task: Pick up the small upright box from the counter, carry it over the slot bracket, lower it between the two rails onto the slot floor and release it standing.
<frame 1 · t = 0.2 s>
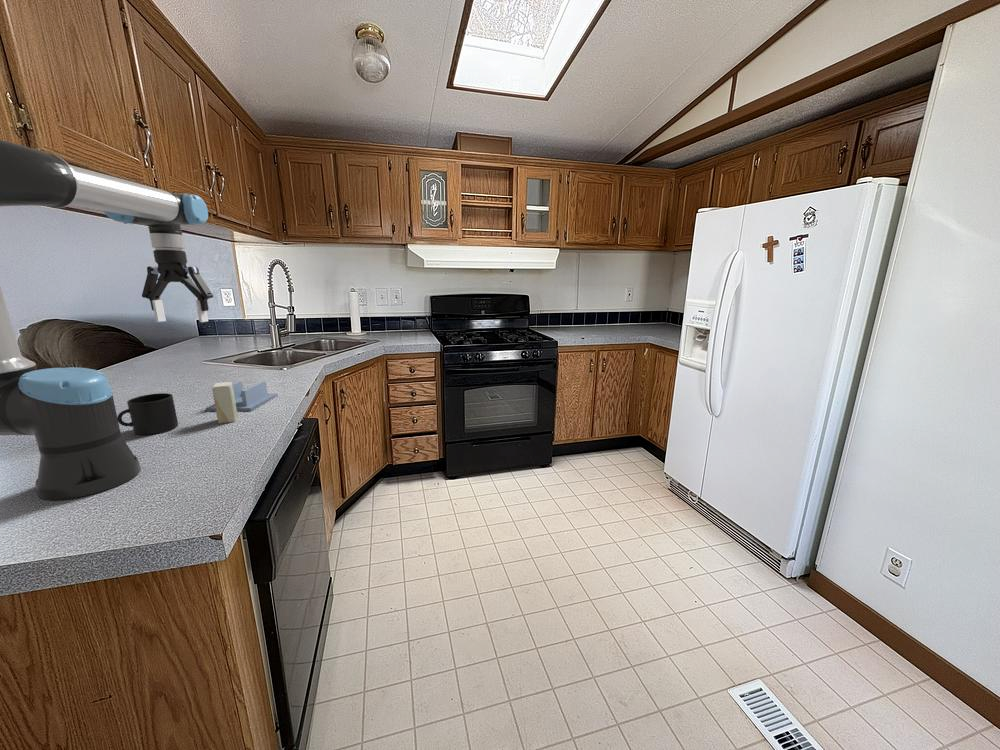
hand: (182, 321, 124), 27 cm above the countertop, fingers open, 13 cm apart
slot bracket: (244, 403, 134), on the countertop
box: (228, 420, 118), on the countertop
mug: (151, 431, 110), on the countertop
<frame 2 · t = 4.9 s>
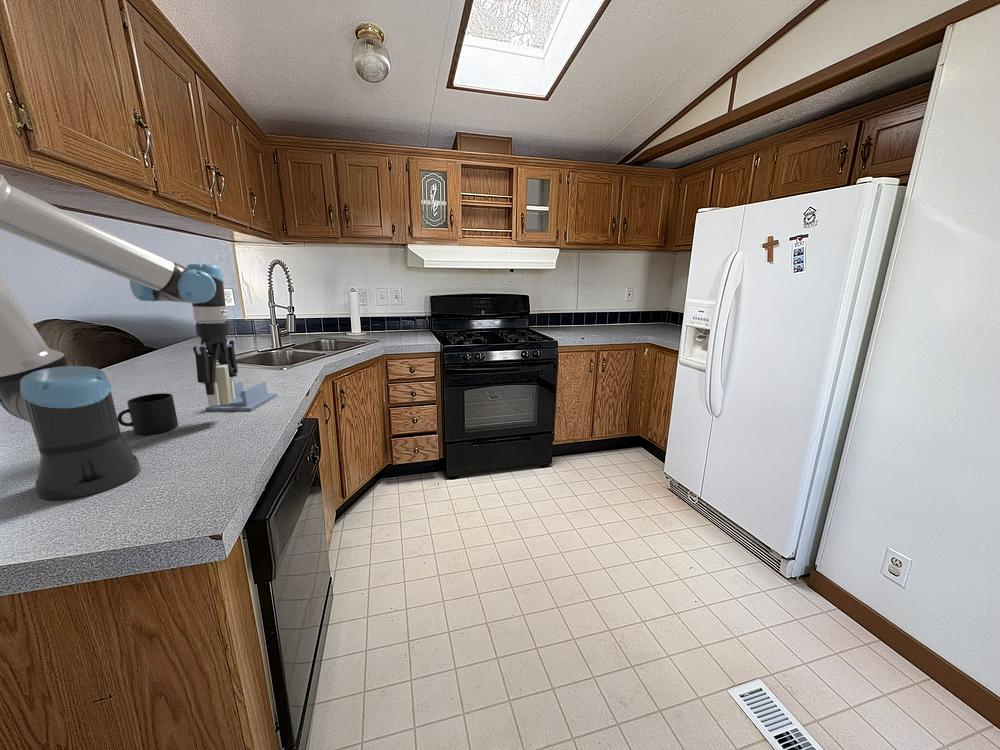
hand: (222, 401, 116), 6 cm above the countertop, fingers closed on box, 6 cm apart
box: (222, 403, 116), point 5 cm above the countertop, touching gripper
everything else where it was.
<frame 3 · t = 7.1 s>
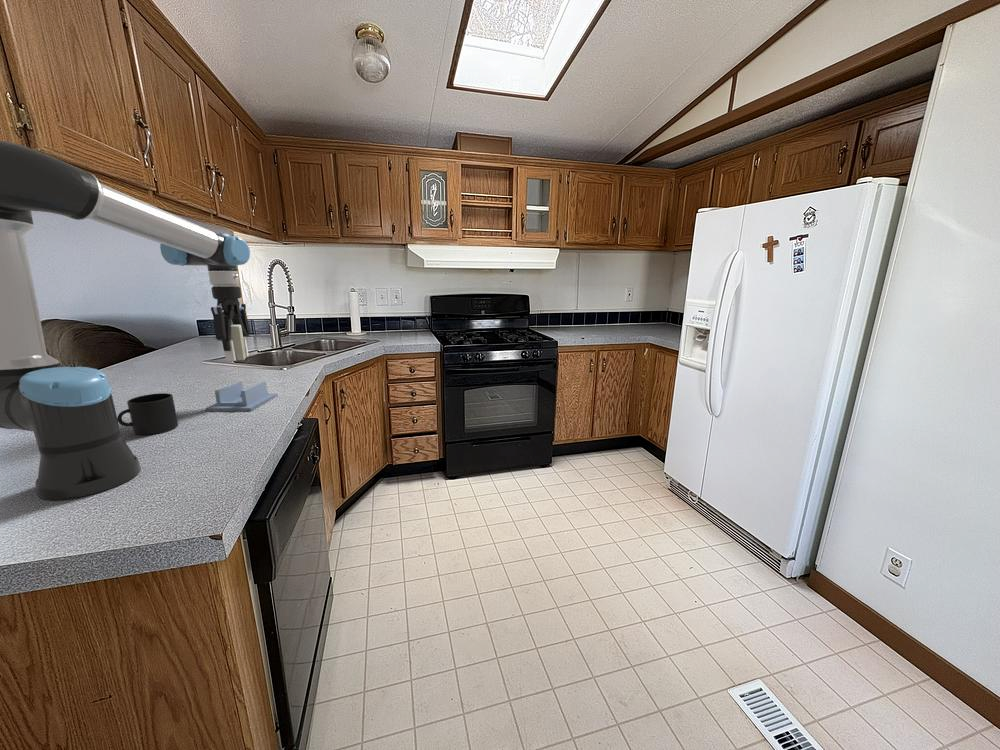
hand: (237, 358, 130), 15 cm above the countertop, fingers closed on box, 6 cm apart
box: (237, 359, 130), point 15 cm above the countertop, touching gripper
everything else where it was.
when the fingers open (2 cm above the countertop, at t = 9.6 s): box moves 1 cm, resting on slot bracket.
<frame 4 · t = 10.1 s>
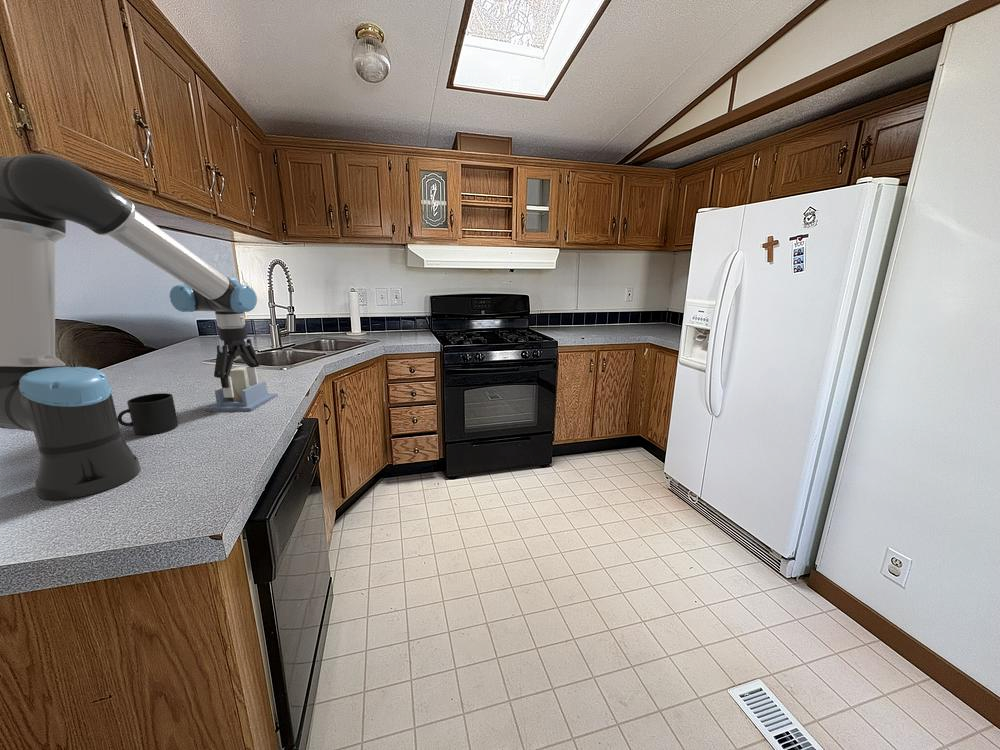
hand: (242, 391, 133), 4 cm above the countertop, fingers open, 13 cm apart
box: (242, 401, 133), point 1 cm above the countertop, touching slot bracket
everything else where it was.
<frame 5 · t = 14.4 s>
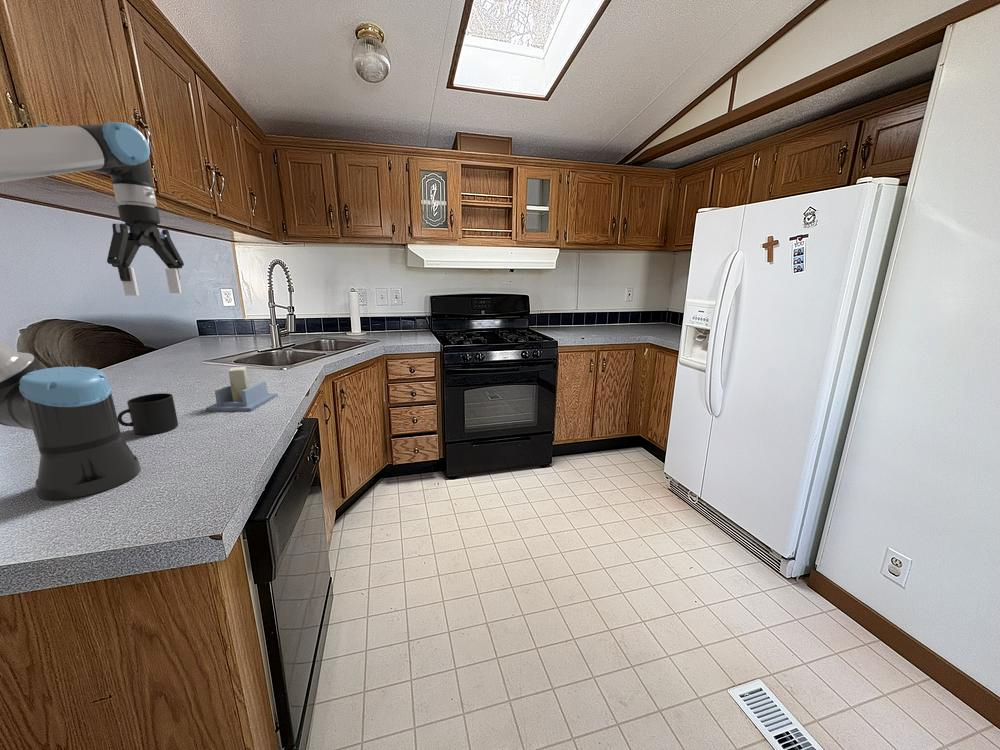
hand: (155, 294, 103), 37 cm above the countertop, fingers open, 13 cm apart
nothing on the countertop moved.
at the end: box inside the target area on the slot bracket (0.6 cm from its centre), point 0.8 cm above the slot bracket's base; box tilted 0°; the gripper is holding nothing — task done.
